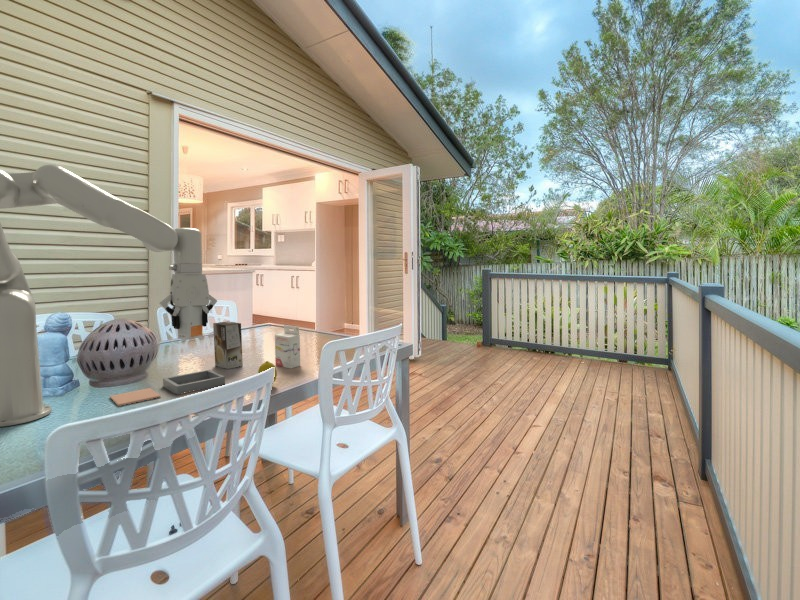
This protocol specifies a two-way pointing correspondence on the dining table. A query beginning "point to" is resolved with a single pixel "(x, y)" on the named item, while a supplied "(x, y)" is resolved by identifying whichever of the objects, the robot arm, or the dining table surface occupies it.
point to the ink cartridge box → (288, 347)
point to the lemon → (267, 366)
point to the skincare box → (190, 322)
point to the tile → (134, 396)
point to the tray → (212, 381)
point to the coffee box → (228, 344)
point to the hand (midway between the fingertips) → (190, 326)
